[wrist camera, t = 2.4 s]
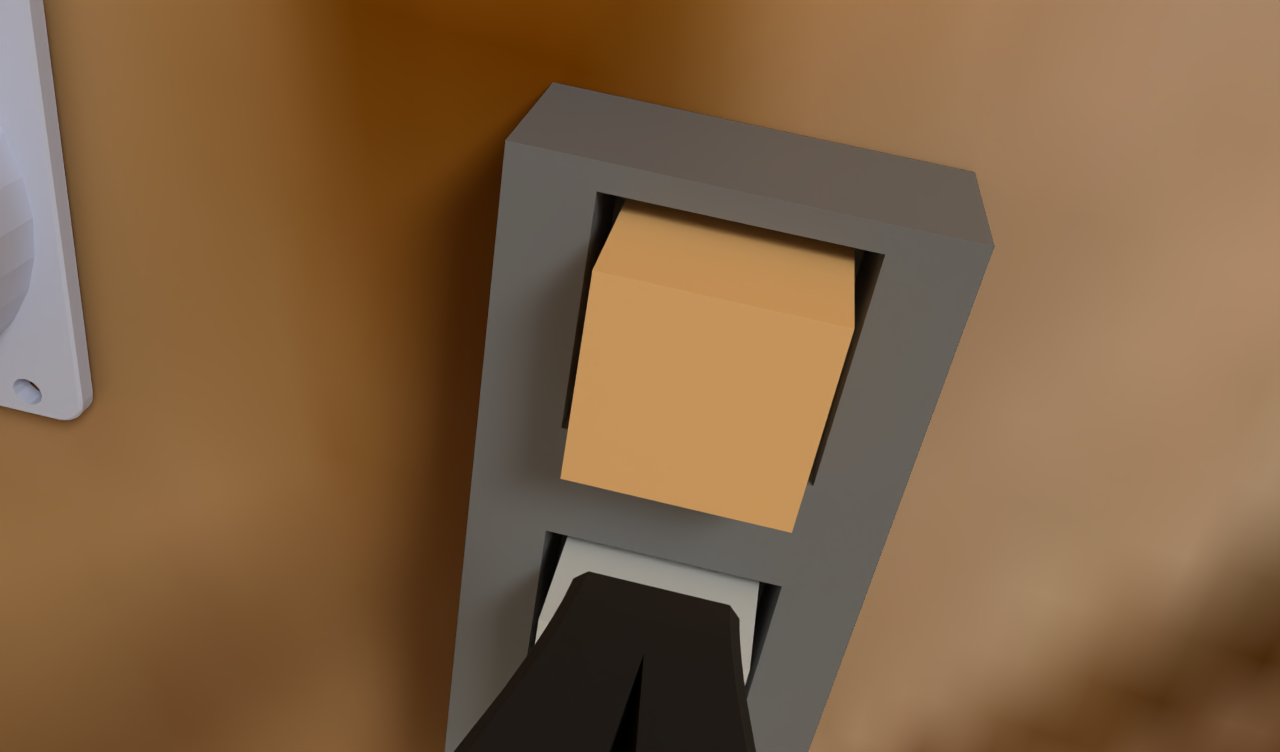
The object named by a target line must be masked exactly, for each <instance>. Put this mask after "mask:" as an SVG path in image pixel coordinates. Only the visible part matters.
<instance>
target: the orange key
mask: <svg viewBox="0 0 1280 752" xmlns="http://www.w3.org/2000/svg"><path fill="white" fill-rule="evenodd" d="M854 329H855V304H854V248H853V247H849V246H844V245H839V244H835V243H830V242H826V241H821V240H817V239H812V238H807V237H803V236H798V235H794V234H789V233H785V232H780V231H775V230H771V229H766V228H762V227H757V226H753V225H748V224H743V223H739V222H734V221H730V220H725V219H720V218H716V217H711V216H707V215H702V214H698V213H693V212H688V211H684V210H679V209H675V208H670V207H666V206H661V205H656V204H652V203H647V202H643V201H638V200H634V199H629V198H626V200H625V202H624V205H623V207H622V209H621V211H620V213H619V215H618V217H617V219H616V222H615V224H614V226H613V228H612V230H611V232H610V234H609V236H608V238H607V241H606V243H605V245H604V247H603V249H602V251H601V253H600V255H599V258H598V260H597V262H596V264H595V266H594V268H593V270H592V277H591V283H590V290H589V296H588V303H587V309H586V316H585V322H584V329H583V335H582V342H581V348H580V355H579V361H578V368H577V374H576V381H575V387H574V394H573V400H572V407H571V413H570V420H569V426H568V433H567V439H566V446H565V452H564V459H563V465H562V472H561V478H560V479H564V480H568V481H572V482H577V483H581V484H585V485H590V486H594V487H598V488H602V489H607V490H611V491H615V492H619V493H624V494H628V495H632V496H636V497H641V498H645V499H649V500H654V501H658V502H662V503H666V504H671V505H675V506H679V507H683V508H688V509H692V510H696V511H701V512H705V513H709V514H713V515H718V516H722V517H726V518H730V519H735V520H739V521H743V522H747V523H752V524H756V525H760V526H765V527H769V528H773V529H777V530H782V531H786V532H790V533H792V531H793V527H794V524H795V521H796V518H797V514H798V511H799V508H800V505H801V501H802V498H803V495H804V492H805V488H806V485H807V482H808V479H809V475H810V472H811V469H812V466H813V462H814V459H815V456H816V453H817V449H818V446H819V443H820V439H821V436H822V433H823V430H824V426H825V423H826V420H827V417H828V413H829V410H830V407H831V404H832V400H833V397H834V394H835V391H836V387H837V384H838V381H839V378H840V374H841V371H842V368H843V365H844V361H845V358H846V355H847V351H848V348H849V345H850V342H851V338H852V335H853V332H854Z"/></svg>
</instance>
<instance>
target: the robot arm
mask: <svg viewBox="0 0 1280 752" xmlns="http://www.w3.org/2000/svg"><path fill="white" fill-rule="evenodd" d="M29 381H31V382H33V383H34V384H35V385H36V386H37V387H38V388H39V390H40V391H39V390H37V389H35V388H34V387H33V386H32V385H31V384H30V382H29ZM92 399H93V390H92V382H91V374H90V366H89V359H88V351H87V343H86V335H85V327H84V319H83V311H82V304H81V296H80V288H79V280H78V272H77V264H76V256H75V249H74V241H73V233H72V225H71V217H70V209H69V202H68V194H67V186H66V178H65V170H64V162H63V154H62V147H61V139H60V131H59V123H58V115H57V107H56V99H55V92H54V84H53V76H52V68H51V60H50V52H49V44H48V37H47V29H46V21H45V13H44V5H43V0H0V406H3V407H8V408H12V409H16V410H20V411H25V412H29V413H33V414H37V415H41V416H46V417H50V418H54V419H58V420H72V419H75V418H77V417H79V416H80V415H81V414H82V413H83V412H84V411H85V410H86V409H87V408H88V407H89V406H90V405H91V403H92ZM454 752H756V748H755V743H754V737H753V732H752V726H751V721H750V715H749V710H748V704H747V697H746V690H745V683H744V675H743V667H742V657H741V645H740V618H739V617H738V616H737V614H736V613H735V611H734V610H733V609H732V607H731V606H730V605H728V604H723V603H719V602H715V601H711V600H707V599H703V598H698V597H694V596H690V595H686V594H682V593H677V592H673V591H669V590H665V589H661V588H657V587H652V586H648V585H644V584H640V583H636V582H631V581H627V580H623V579H619V578H615V577H611V576H606V575H602V574H598V573H594V572H590V571H588V572H586V573H583V574H581V575H579V576H577V577H575V578H573V580H572V582H571V584H570V586H569V588H568V590H567V592H566V594H565V596H564V598H563V600H562V602H561V603H560V605H559V607H558V608H557V610H556V612H555V613H554V615H553V617H552V619H551V620H550V622H549V623H548V625H547V627H546V628H545V630H544V631H543V633H542V634H541V636H540V637H539V639H538V640H537V642H536V643H535V645H534V646H533V648H532V649H531V651H530V652H529V654H528V655H527V656H526V658H525V659H524V661H523V662H522V663H521V665H520V666H519V668H518V669H517V670H516V672H515V673H514V675H513V676H512V677H511V679H510V680H509V682H508V683H507V684H506V686H505V687H504V688H503V690H502V691H501V692H500V694H499V695H498V696H497V697H496V699H495V700H494V701H493V702H492V704H491V705H490V706H489V708H488V709H487V710H486V711H485V713H484V714H483V715H482V716H481V718H480V719H479V720H478V721H477V723H476V724H475V725H474V726H473V728H472V729H471V730H470V732H469V733H468V734H467V735H466V737H465V738H464V739H463V740H462V742H461V743H460V744H459V745H458V747H457V748H456V749H455V751H454Z"/></svg>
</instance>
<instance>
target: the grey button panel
mask: <svg viewBox="0 0 1280 752" xmlns="http://www.w3.org/2000/svg"><path fill="white" fill-rule="evenodd" d="M626 198H629V199H634V200H638V201H643V202H647V203H652V204H656V205H661V206H666V207H670V208H675V209H679V210H684V211H688V212H693V213H698V214H702V215H707V216H711V217H716V218H720V219H725V220H730V221H734V222H739V223H743V224H748V225H753V226H757V227H762V228H766V229H771V230H775V231H780V232H785V233H789V234H794V235H798V236H803V237H807V238H812V239H817V240H821V241H826V242H830V243H835V244H839V245H844V246H849V247H853V248H854V304H855V329H854V332H853V335H852V338H851V342H850V345H849V348H848V351H847V355H846V358H845V361H844V365H843V368H842V371H841V374H840V378H839V381H838V384H837V387H836V391H835V394H834V397H833V400H832V404H831V407H830V410H829V413H828V417H827V420H826V423H825V426H824V430H823V433H822V436H821V439H820V443H819V446H818V449H817V453H816V456H815V459H814V462H813V466H812V469H811V472H810V475H809V479H808V482H807V485H806V488H805V492H804V495H803V498H802V501H801V505H800V508H799V511H798V514H797V518H796V521H795V524H794V527H793V531H792V533H790V532H786V531H782V530H777V529H773V528H769V527H765V526H760V525H756V524H752V523H747V522H743V521H739V520H735V519H730V518H726V517H722V516H718V515H713V514H709V513H705V512H701V511H696V510H692V509H688V508H683V507H679V506H675V505H671V504H666V503H662V502H658V501H654V500H649V499H645V498H641V497H636V496H632V495H628V494H624V493H619V492H615V491H611V490H607V489H602V488H598V487H594V486H590V485H585V484H581V483H577V482H572V481H568V480H564V479H560V478H561V472H562V465H563V459H564V452H565V446H566V439H567V433H568V426H569V420H570V413H571V407H572V400H573V394H574V387H575V381H576V374H577V368H578V361H579V355H580V348H581V342H582V335H583V329H584V322H585V316H586V309H587V303H588V296H589V290H590V283H591V277H592V270H593V268H594V266H595V264H596V262H597V260H598V258H599V255H600V253H601V251H602V249H603V247H604V245H605V243H606V241H607V238H608V236H609V234H610V232H611V230H612V228H613V226H614V224H615V222H616V219H617V217H618V215H619V213H620V211H621V209H622V207H623V205H624V202H625V200H626ZM993 249H994V243H993V239H992V235H991V231H990V227H989V224H988V220H987V216H986V212H985V209H984V205H983V201H982V197H981V194H980V190H979V186H978V182H977V179H976V175H975V172H971V171H966V170H961V169H957V168H952V167H947V166H943V165H938V164H933V163H928V162H924V161H919V160H914V159H910V158H905V157H900V156H896V155H891V154H886V153H882V152H877V151H872V150H868V149H863V148H858V147H854V146H849V145H844V144H839V143H835V142H830V141H825V140H821V139H816V138H811V137H807V136H802V135H797V134H793V133H788V132H783V131H779V130H774V129H769V128H764V127H760V126H755V125H750V124H746V123H741V122H736V121H732V120H727V119H722V118H718V117H713V116H708V115H704V114H699V113H694V112H689V111H685V110H680V109H675V108H671V107H666V106H661V105H657V104H652V103H647V102H643V101H638V100H633V99H629V98H624V97H619V96H614V95H610V94H605V93H600V92H596V91H591V90H586V89H582V88H577V87H572V86H568V85H563V84H558V83H554V82H553V83H552V84H551V85H550V87H549V88H548V89H547V90H546V92H545V93H544V94H543V95H542V96H541V98H540V99H539V100H538V101H537V102H536V104H535V105H534V106H533V107H532V109H531V110H530V111H529V112H528V113H527V115H526V116H525V117H524V118H523V119H522V121H521V122H520V123H519V124H518V126H517V127H516V128H515V129H514V130H513V132H512V133H511V134H510V135H509V136H508V138H507V139H506V140H505V149H504V159H503V170H502V180H501V190H500V200H499V210H498V220H497V230H496V240H495V250H494V260H493V270H492V280H491V290H490V300H489V310H488V320H487V330H486V341H485V351H484V361H483V371H482V381H481V391H480V401H479V411H478V421H477V431H476V441H475V451H474V461H473V471H472V481H471V491H470V502H469V512H468V522H467V532H466V542H465V552H464V562H463V572H462V582H461V592H460V602H459V612H458V622H457V632H456V642H455V652H454V663H453V673H452V683H451V693H450V703H449V713H448V723H447V733H446V743H445V752H454V751H455V749H456V748H457V747H458V745H459V744H460V743H461V742H462V740H463V739H464V738H465V737H466V735H467V734H468V733H469V732H470V730H471V729H472V728H473V726H474V725H475V724H476V723H477V721H478V720H479V719H480V718H481V716H482V715H483V714H484V713H485V711H486V710H487V709H488V708H489V706H490V705H491V704H492V702H493V701H494V700H495V699H496V697H497V696H498V695H499V694H500V692H501V691H502V690H503V688H504V687H505V686H506V684H507V683H508V682H509V680H510V679H511V677H512V676H513V675H514V673H515V672H516V670H517V669H518V668H519V666H520V665H521V663H522V662H523V661H524V659H525V658H526V656H527V655H528V654H529V652H530V651H531V649H532V648H533V646H534V645H535V640H536V634H537V627H538V621H539V617H540V614H541V611H542V609H543V606H544V603H545V600H546V597H547V594H548V591H549V588H550V586H551V583H552V580H553V577H554V574H555V571H556V568H557V566H558V563H559V560H560V557H561V554H562V551H563V548H564V546H565V543H566V540H567V537H568V536H571V537H575V538H579V539H584V540H588V541H592V542H596V543H600V544H605V545H609V546H613V547H617V548H622V549H626V550H630V551H634V552H638V553H643V554H647V555H651V556H655V557H659V558H664V559H668V560H672V561H676V562H681V563H685V564H689V565H693V566H697V567H702V568H706V569H710V570H714V571H718V572H723V573H727V574H731V575H735V576H740V577H744V578H748V579H752V580H756V581H759V590H758V599H757V608H756V617H755V626H754V635H753V644H752V654H751V663H750V671H749V674H748V677H747V681H746V684H745V690H746V697H747V704H748V710H749V715H750V721H751V726H752V732H753V737H754V743H755V748H756V752H808V751H809V748H810V745H811V743H812V740H813V737H814V735H815V732H816V729H817V726H818V724H819V721H820V718H821V716H822V713H823V710H824V707H825V705H826V702H827V699H828V697H829V694H830V691H831V688H832V686H833V683H834V680H835V678H836V675H837V672H838V669H839V667H840V664H841V661H842V659H843V656H844V653H845V650H846V648H847V645H848V642H849V640H850V637H851V634H852V631H853V629H854V626H855V623H856V621H857V618H858V615H859V613H860V610H861V607H862V604H863V602H864V599H865V596H866V594H867V591H868V588H869V585H870V583H871V580H872V577H873V575H874V572H875V569H876V566H877V564H878V561H879V558H880V556H881V553H882V550H883V547H884V545H885V542H886V539H887V537H888V534H889V531H890V528H891V526H892V523H893V520H894V518H895V515H896V512H897V509H898V507H899V504H900V501H901V499H902V496H903V493H904V490H905V488H906V485H907V482H908V480H909V477H910V474H911V471H912V469H913V466H914V463H915V461H916V458H917V455H918V452H919V450H920V447H921V444H922V442H923V439H924V436H925V433H926V431H927V428H928V425H929V423H930V420H931V417H932V414H933V412H934V409H935V406H936V404H937V401H938V398H939V395H940V393H941V390H942V387H943V385H944V382H945V379H946V377H947V374H948V371H949V368H950V366H951V363H952V360H953V358H954V355H955V352H956V349H957V347H958V344H959V341H960V339H961V336H962V333H963V330H964V328H965V325H966V322H967V320H968V317H969V314H970V311H971V309H972V306H973V303H974V301H975V298H976V295H977V292H978V290H979V287H980V284H981V282H982V279H983V276H984V273H985V271H986V268H987V265H988V263H989V260H990V257H991V254H992V252H993Z"/></svg>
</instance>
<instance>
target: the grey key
mask: <svg viewBox="0 0 1280 752" xmlns="http://www.w3.org/2000/svg"><path fill="white" fill-rule="evenodd" d="M588 571H590V572H594V573H598V574H602V575H606V576H611V577H615V578H619V579H623V580H627V581H631V582H636V583H640V584H644V585H648V586H652V587H657V588H661V589H665V590H669V591H673V592H677V593H682V594H686V595H690V596H694V597H698V598H703V599H707V600H711V601H715V602H719V603H723V604H728V605H730V606H731V607H732V609H733V610H734V611H735V613H736V614H737V616H738V617H739V618H740V645H741V657H742V667H743V675H744V683H745V684H746V681H747V677H748V674H749V671H750V663H751V654H752V644H753V635H754V626H755V617H756V608H757V599H758V590H759V581H756V580H752V579H748V578H744V577H740V576H735V575H731V574H727V573H723V572H718V571H714V570H710V569H706V568H702V567H697V566H693V565H689V564H685V563H681V562H676V561H672V560H668V559H664V558H659V557H655V556H651V555H647V554H643V553H638V552H634V551H630V550H626V549H622V548H617V547H613V546H609V545H605V544H600V543H596V542H592V541H588V540H584V539H579V538H575V537H571V536H568V537H567V540H566V543H565V546H564V548H563V551H562V554H561V557H560V560H559V563H558V566H557V568H556V571H555V574H554V577H553V580H552V583H551V586H550V588H549V591H548V594H547V597H546V600H545V603H544V606H543V609H542V611H541V614H540V617H539V621H538V627H537V634H536V640H535V643H536V642H537V640H538V639H539V637H540V636H541V634H542V633H543V631H544V630H545V628H546V627H547V625H548V623H549V622H550V620H551V619H552V617H553V615H554V613H555V612H556V610H557V608H558V607H559V605H560V603H561V602H562V600H563V598H564V596H565V594H566V592H567V590H568V588H569V586H570V584H571V582H572V580H573V578H575V577H577V576H579V575H581V574H583V573H586V572H588Z"/></svg>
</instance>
